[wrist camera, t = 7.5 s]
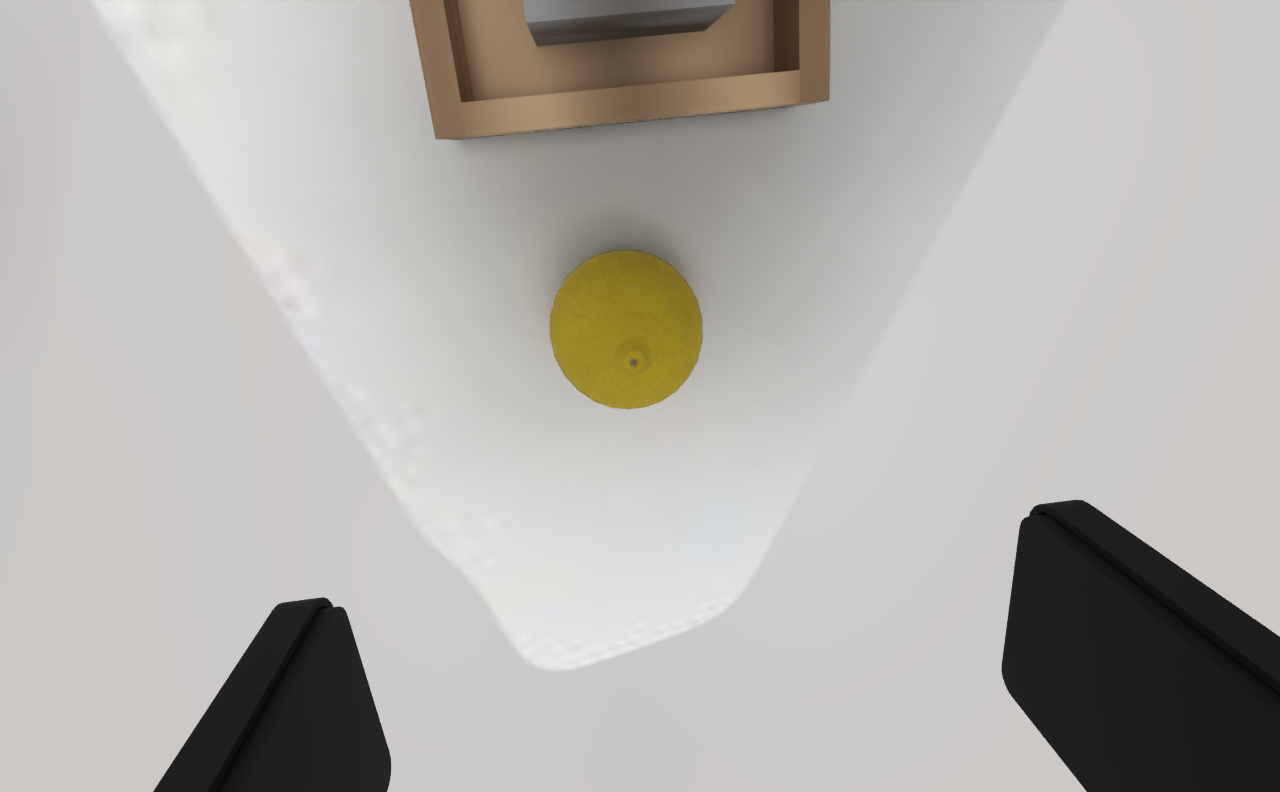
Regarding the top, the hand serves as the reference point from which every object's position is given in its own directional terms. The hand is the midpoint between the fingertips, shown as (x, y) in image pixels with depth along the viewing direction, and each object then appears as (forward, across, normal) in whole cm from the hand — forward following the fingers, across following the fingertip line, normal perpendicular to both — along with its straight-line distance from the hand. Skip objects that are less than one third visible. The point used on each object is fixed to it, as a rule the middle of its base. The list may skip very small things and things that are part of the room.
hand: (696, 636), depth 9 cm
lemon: (+20, 0, 0) cm, 20 cm away
